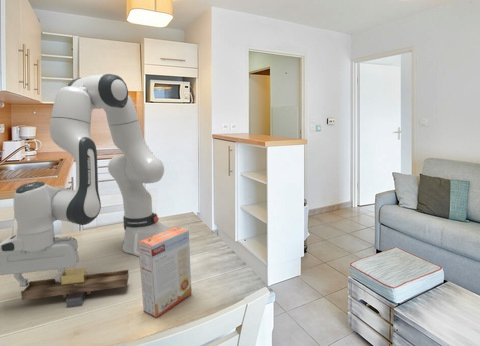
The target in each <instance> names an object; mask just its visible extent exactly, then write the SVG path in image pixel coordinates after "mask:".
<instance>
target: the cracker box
mask: <svg viewBox="0 0 480 346" xmlns="http://www.w3.org/2000/svg"><path fill="white" fill-rule="evenodd" d="M138 244H139V256H138V257H139V268H140V279H141V280H140V282H141V283H140V284H141V293H142V305H143V307H142V308H143V312H145V313H147V314H149V315H150V316H153V317H155V318H156V319H157V318H159V316H160V317H161V315H163V314H165V313H166V312H167V311H169V310H170V309H171V308H173V307H174V306H176V305H178V304H179V303H180V302H182V301H183V300H184V299H186V298H188V297H189V296H191V295H192V274H191V253H190V252H191V249H190V230H189V229H185V228H182V227H178V226H174V227H172V228H169V230H167V231H164V232H162V233H159V234H157V235H154V236H151V237H149V238H146V239H144V240H141V241H139V242H138Z"/></svg>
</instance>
